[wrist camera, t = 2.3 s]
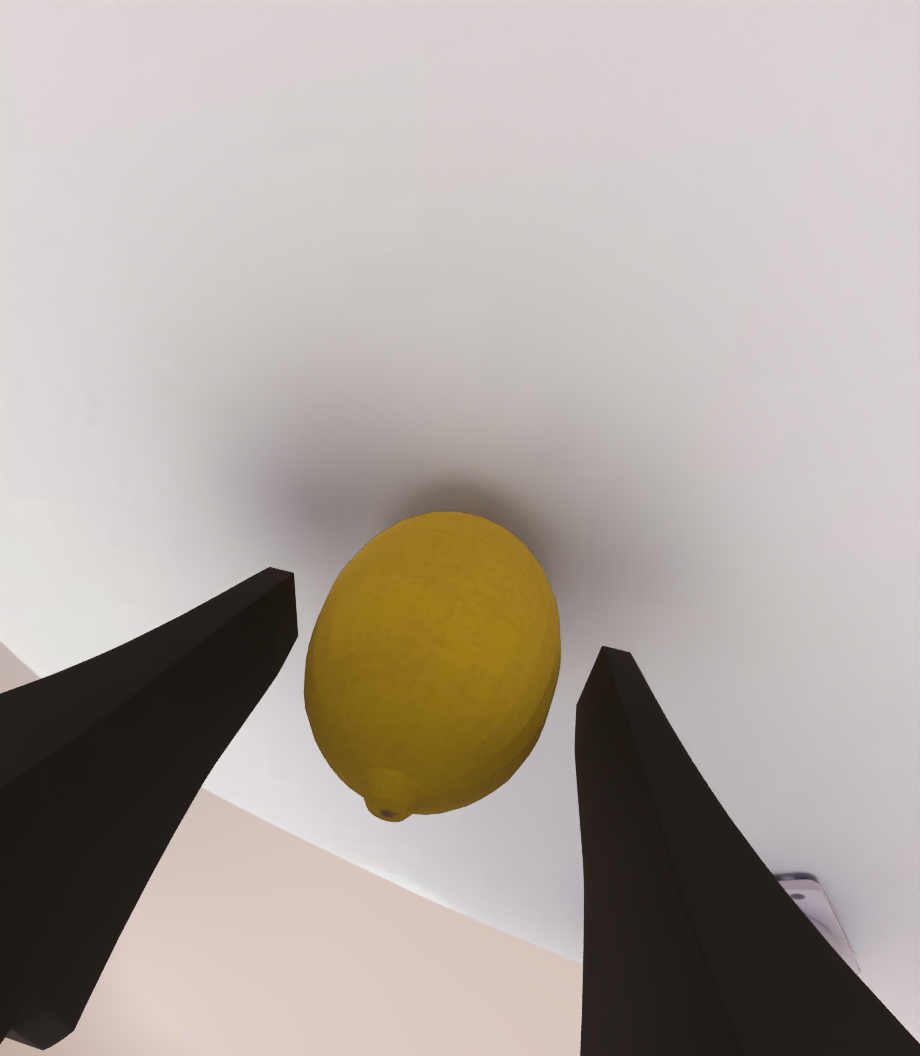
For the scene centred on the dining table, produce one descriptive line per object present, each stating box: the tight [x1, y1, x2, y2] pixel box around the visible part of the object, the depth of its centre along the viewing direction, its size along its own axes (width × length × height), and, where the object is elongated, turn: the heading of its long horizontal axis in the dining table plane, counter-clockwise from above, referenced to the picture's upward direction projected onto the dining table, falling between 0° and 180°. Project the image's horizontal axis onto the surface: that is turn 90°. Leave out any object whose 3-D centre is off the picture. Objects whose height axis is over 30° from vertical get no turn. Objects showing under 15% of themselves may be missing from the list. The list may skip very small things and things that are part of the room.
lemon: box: [304, 512, 561, 822], centre depth 11 cm, size 6×6×8 cm
